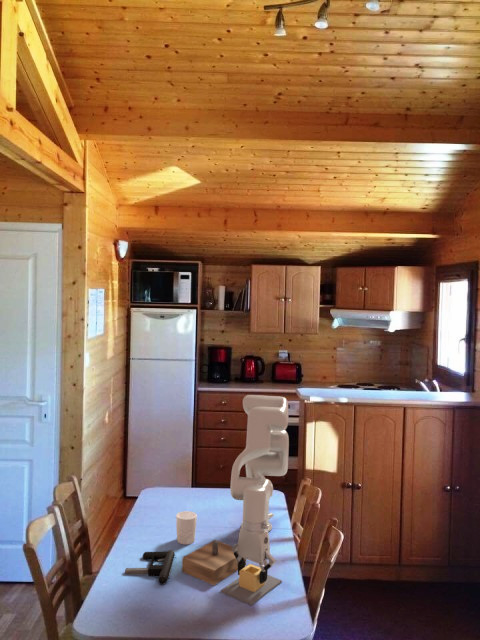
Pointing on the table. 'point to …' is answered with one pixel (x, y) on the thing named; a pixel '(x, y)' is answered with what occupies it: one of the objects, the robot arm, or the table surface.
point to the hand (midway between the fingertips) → (252, 577)
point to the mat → (247, 595)
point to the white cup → (186, 527)
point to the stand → (211, 562)
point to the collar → (250, 578)
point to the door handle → (155, 570)
